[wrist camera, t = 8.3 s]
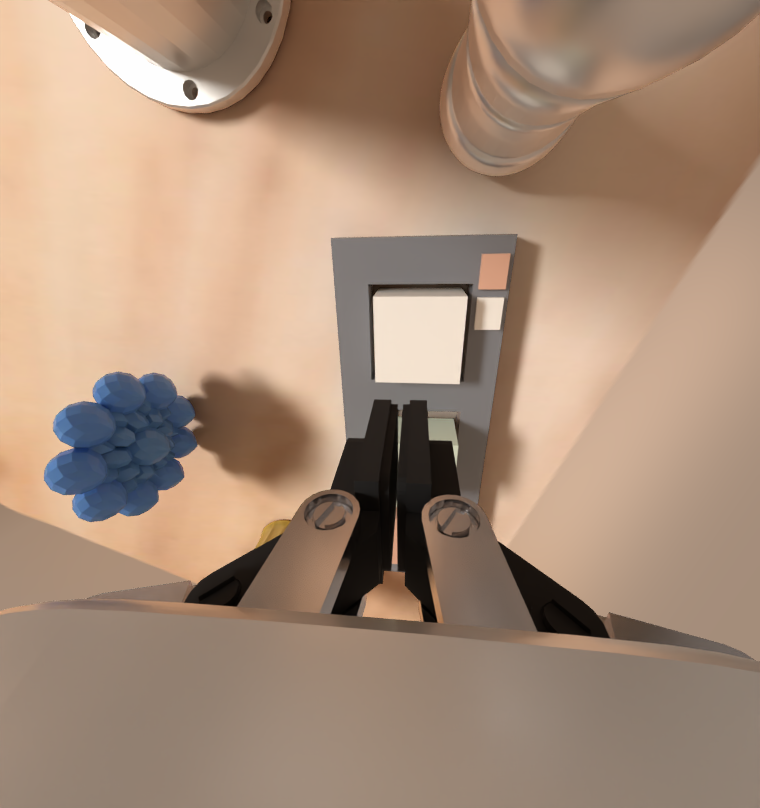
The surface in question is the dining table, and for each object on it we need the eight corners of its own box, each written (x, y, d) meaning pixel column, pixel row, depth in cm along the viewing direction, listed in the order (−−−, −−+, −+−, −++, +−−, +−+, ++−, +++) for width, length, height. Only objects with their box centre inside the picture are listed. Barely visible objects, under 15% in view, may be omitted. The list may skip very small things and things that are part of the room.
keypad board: (337, 237, 22) (329, 238, 20) (509, 234, 21) (518, 234, 19) (359, 551, 36) (355, 570, 34) (464, 559, 35) (467, 580, 33)
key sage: (378, 416, 26) (372, 442, 22) (453, 418, 25) (458, 445, 22) (380, 474, 28) (375, 505, 25) (448, 478, 28) (451, 510, 24)
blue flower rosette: (126, 334, 27) (-62, 400, 17) (207, 348, 27) (69, 423, 16) (152, 451, 33) (22, 557, 22) (219, 463, 32) (121, 576, 22)
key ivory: (379, 288, 24) (373, 296, 20) (461, 287, 23) (467, 296, 20) (380, 363, 26) (375, 382, 23) (454, 365, 25) (459, 384, 22)
